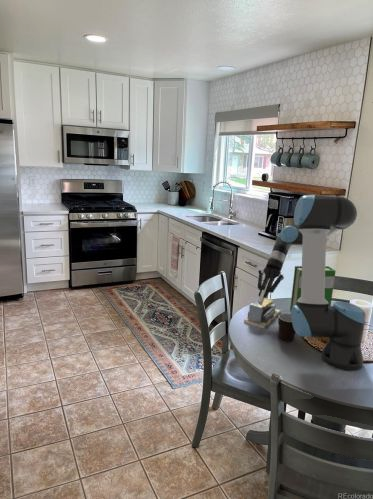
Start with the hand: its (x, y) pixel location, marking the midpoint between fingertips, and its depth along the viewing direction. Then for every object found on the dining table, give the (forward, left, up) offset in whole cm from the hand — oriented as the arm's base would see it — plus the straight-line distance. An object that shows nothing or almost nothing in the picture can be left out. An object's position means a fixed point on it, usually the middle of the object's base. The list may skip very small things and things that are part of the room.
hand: (259, 303), depth 182 cm
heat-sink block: (+5, 0, -8) cm, 9 cm away
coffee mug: (-7, -17, -10) cm, 21 cm away
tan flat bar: (+12, 0, -3) cm, 12 cm away
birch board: (+6, 0, -9) cm, 11 cm away
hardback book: (+26, -17, -10) cm, 32 cm away
